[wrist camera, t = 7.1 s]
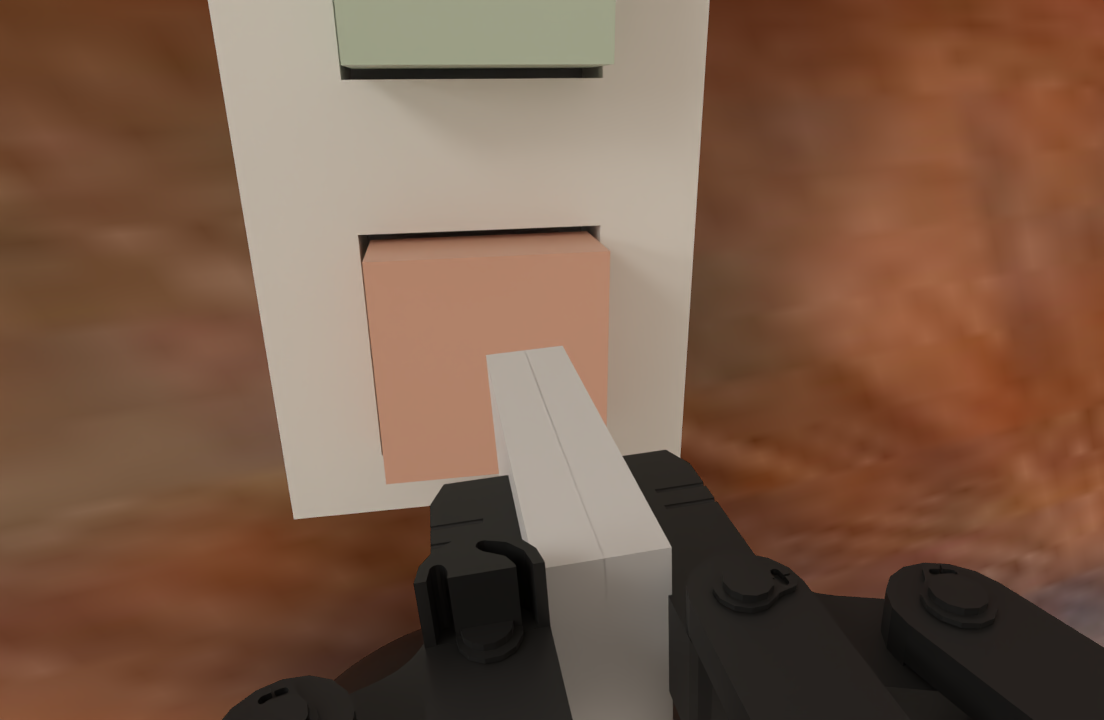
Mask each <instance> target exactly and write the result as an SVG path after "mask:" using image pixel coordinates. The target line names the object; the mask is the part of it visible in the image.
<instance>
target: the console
mask: <svg viewBox="0 0 1104 720" xmlns="http://www.w3.org/2000/svg"><path fill="white" fill-rule="evenodd" d="M709 2H710V0H616V4H615V52H614V64H611V65H605V66H598V67H592V68H478V69H351V68H348V67H345V66H342V65H341V61H340V52H339V43H338V34H337V24H336V15H335V6H334V0H208V4H209V10H210V16H211V22H212V28H213V34H214V41H215V47H216V53H217V59H218V65H219V71H220V77H221V83H222V89H223V95H224V101H225V107H226V113H227V119H228V125H229V131H230V137H231V143H232V149H233V155H234V161H235V167H236V173H237V179H238V185H239V191H240V197H241V203H242V209H243V215H244V221H245V227H246V233H247V239H248V246H249V252H250V258H251V264H252V270H253V276H254V282H255V288H256V294H257V300H258V306H259V312H260V318H261V324H262V330H263V336H264V342H265V348H266V354H267V360H268V366H269V372H270V378H271V384H272V390H273V396H274V402H275V408H276V414H277V420H278V426H279V432H280V438H281V444H282V451H283V457H284V463H285V469H286V475H287V481H288V487H289V493H290V499H291V505H292V511H293V517H294V519H302V518H312V517H322V516H332V515H342V514H353V513H363V512H373V511H383V510H393V509H403V508H413V507H423V506H430V504H431V503H432V501H433V500H434V498H435V497H436V495H437V494H438V492H439V491H440V489H441V488H442V486H443V485H444V484H450V483H456V482H463V481H470V480H477V479H484V478H491V477H497V476H499V474H491V475H480V476H469V477H459V478H448V479H437V480H427V481H416V482H405V483H395V484H386V478H385V469H384V459H383V450H382V441H381V432H380V422H379V413H378V404H377V394H376V385H375V376H374V367H373V357H372V348H371V339H370V330H369V320H368V311H367V302H366V293H365V283H364V274H363V265H362V262H363V259H364V256H365V254H366V251H367V248H368V246H369V243H370V240H382V239H406V238H431V237H455V236H479V235H504V234H528V233H552V232H577V231H587V232H588V233H590V234H591V235H592V236H593V237H594V238H595V239H597V240H598V241H599V242H600V243H601V244H602V245H604V246H605V247H606V248H607V249H608V250H609V251H610V288H609V336H608V383H607V429H608V431H609V432H610V434H611V436H612V438H613V440H614V442H615V443H616V445H617V447H618V449H619V451H620V453H621V455H622V456H625V455H632V454H639V453H646V452H653V451H659V450H668V451H669V452H671V453H673V454H674V455H676V456H678V457H679V458H680V453H681V438H682V422H683V406H684V391H685V375H686V360H687V344H688V329H689V313H690V297H691V282H692V266H693V251H694V235H695V220H696V204H697V189H698V173H699V157H700V142H701V126H702V111H703V95H704V80H705V64H706V48H707V33H708V17H709Z"/></svg>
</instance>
